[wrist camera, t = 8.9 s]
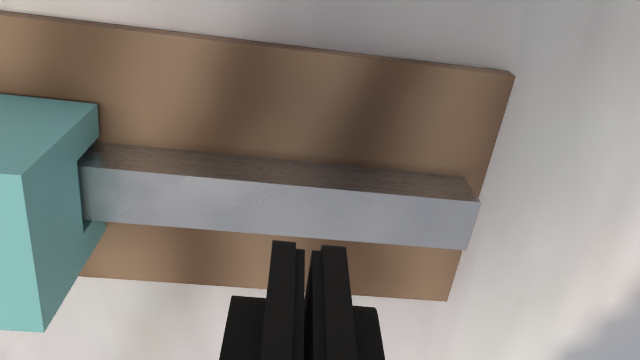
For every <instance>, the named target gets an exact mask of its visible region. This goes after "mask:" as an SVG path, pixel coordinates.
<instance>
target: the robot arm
mask: <svg viewBox="0 0 640 360" xmlns="http://www.w3.org/2000/svg"><path fill="white" fill-rule="evenodd" d="M304 289H305V249H296V242H289V241H278V240H273V241H272V250H271V259H270V269H269V278H268V287H267V297H266V298H255V297H243V296H232V298H231V302H230V307H229V312H228V317H227V322H226V327H225V332H224V338H223V343H222V348H221V353H220V358H219V360H385V356H384V350H383V344H382V338H381V332H380V326H379V319H378V314H377V310H376V309H375V308H374V307H362V306H352V298H351V289H350V279H349V270H348V260H347V250H346V247H342V246H332V245H322V246H321V250H320V251H317V250H312V253H311V259H310V266H309V272H308V279H307V286H306V293H305V299H304Z"/></svg>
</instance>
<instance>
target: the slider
mask: <svg viewBox="0 0 640 360" xmlns="http://www.w3.org/2000/svg"><path fill="white" fill-rule="evenodd" d="M98 137H99V123H98V109H97V104H93V103H83V102H73V101H64V100H54V99H44V98H35V97H25V96H15V95H6V94H0V330H10V331H27V332H45V330H46V329H47V327H48V325H49V324H50V322H51V320H52V319H53V317H54V315H55V314H56V312H57V310H58V309H59V307H60V305H61V304H62V302H63V300H64V299H65V297H66V295H67V294H68V292H69V290H70V289H71V287H72V285H73V284H74V282H75V280H76V279H77V277H78V275H79V274H80V272H81V270H82V269H83V267H84V265H85V264H86V262H87V260H88V259H89V257H90V255H91V254H92V252H93V250H94V249H95V247H96V245H97V244H98V242H99V240H100V239H101V237H102V235H103V234H104V232H105V230H106V225H105V222H104V221H92V220H82V212H81V201H80V190H79V179H78V169H77V161H78V159H79V158H80V157H81V156H82V155H83V154H84V153H85V152H86V151H87V149H88V148H89V147H90V146H91V145H92V144H93V143H94V142H95V140H96V139H97V138H98Z"/></svg>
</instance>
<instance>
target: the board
mask: <svg viewBox="0 0 640 360" xmlns="http://www.w3.org/2000/svg"><path fill="white" fill-rule="evenodd" d="M515 77H516V76H514V75H513V74H511V73H510V72H508V71H501V70H492V69H484V68H476V67H467V66H459V65H451V64H442V63H434V62H425V61H417V60H409V59H400V58H392V57H384V56H375V55H367V54H358V53H350V52H342V51H333V50H325V49H317V48H308V47H300V46H291V45H283V44H275V43H266V42H258V41H250V40H241V39H233V38H224V37H216V36H208V35H199V34H191V33H183V32H174V31H166V30H157V29H149V28H141V27H132V26H124V25H116V24H107V23H99V22H90V21H82V20H74V19H65V18H57V17H49V16H40V15H32V14H23V13H15V12H7V11H0V94H6V95H15V96H25V97H35V98H44V99H54V100H64V101H73V102H83V103H93V104H97V109H98V123H99V137H98V138H97V139H96V140H95V142H105V143H116V144H126V145H137V146H147V147H158V148H168V149H178V150H189V151H199V152H210V153H220V154H231V155H241V156H252V157H262V158H273V159H283V160H294V161H304V162H315V163H325V164H335V165H346V166H356V167H367V168H377V169H388V170H398V171H409V172H419V173H430V174H440V175H451V176H461V177H464V178H465V180H466V181H467V183H468V184H469V186H470V187H471V189H472V190H473V192H474V193H475V194H476V196H477V197H478V198H479V194H480V191H481V188H482V184H483V181H484V178H485V175H486V171H487V168H488V165H489V162H490V158H491V155H492V152H493V149H494V145H495V142H496V139H497V135H498V132H499V129H500V126H501V122H502V119H503V116H504V113H505V109H506V106H507V103H508V99H509V96H510V93H511V90H512V86H513V83H514V80H515ZM105 225H106V230H105V232H104V234H103V235H102V237H101V239H100V240H99V242H98V244H97V245H96V247H95V249H94V250H93V252H92V254H91V255H90V257H89V259H88V260H87V262H86V264H85V265H84V267H83V269H82V270H81V272H80V274H79V275H78V276H82V277H97V278H112V279H126V280H141V281H155V282H170V283H185V284H199V285H214V286H229V287H243V288H258V289H267V287H268V278H269V269H270V259H271V250H272V241H273V240H278V241H289V242H296V249H305V289H304V292H306V286H307V279H308V272H309V266H310V259H311V253H312V250H317V251H320V250H321V246H322V245H332V246H342V247H346V250H347V260H348V270H349V279H350V289H351V295H360V296H375V297H389V298H404V299H419V300H433V301H447V299H448V296H449V292H450V289H451V286H452V283H453V279H454V276H455V273H456V270H457V266H458V263H459V260H460V256H461V253H462V250H456V249H443V248H430V247H418V246H405V245H393V244H380V243H368V242H355V241H343V240H330V239H317V238H305V237H292V236H280V235H267V234H255V233H242V232H230V231H217V230H205V229H192V228H179V227H167V226H154V225H142V224H129V223H117V222H105Z"/></svg>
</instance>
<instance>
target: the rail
mask: <svg viewBox="0 0 640 360" xmlns="http://www.w3.org/2000/svg"><path fill="white" fill-rule="evenodd" d="M77 169H78V179H79V190H80V201H81V212H82V220H92V221H104V222H117V223H129V224H142V225H154V226H167V227H179V228H192V229H205V230H217V231H230V232H242V233H255V234H267V235H280V236H292V237H305V238H317V239H330V240H343V241H355V242H368V243H380V244H393V245H405V246H418V247H430V248H443V249H456V250H466V249H467V246H468V243H469V240H470V236H471V233H472V230H473V227H474V223H475V220H476V217H477V214H478V211H479V207H480V204H481V202H480V200H479V199H478V197H477V196H476V194H475V193H474V192H473V190H472V189H471V187H470V186H469V184H468V183H467V181H466V180H465V178H464V177H461V176H451V175H440V174H430V173H419V172H409V171H398V170H388V169H377V168H367V167H356V166H346V165H335V164H325V163H315V162H304V161H294V160H283V159H273V158H262V157H252V156H241V155H231V154H220V153H210V152H199V151H189V150H178V149H168V148H158V147H147V146H137V145H126V144H116V143H105V142H94V143H93V144H92V145H91V146H90V147H89V148H88V149H87V151H86V152H85V153H84V154H83V155H82V156H81V157H80V158H79V159H78V161H77Z"/></svg>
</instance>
